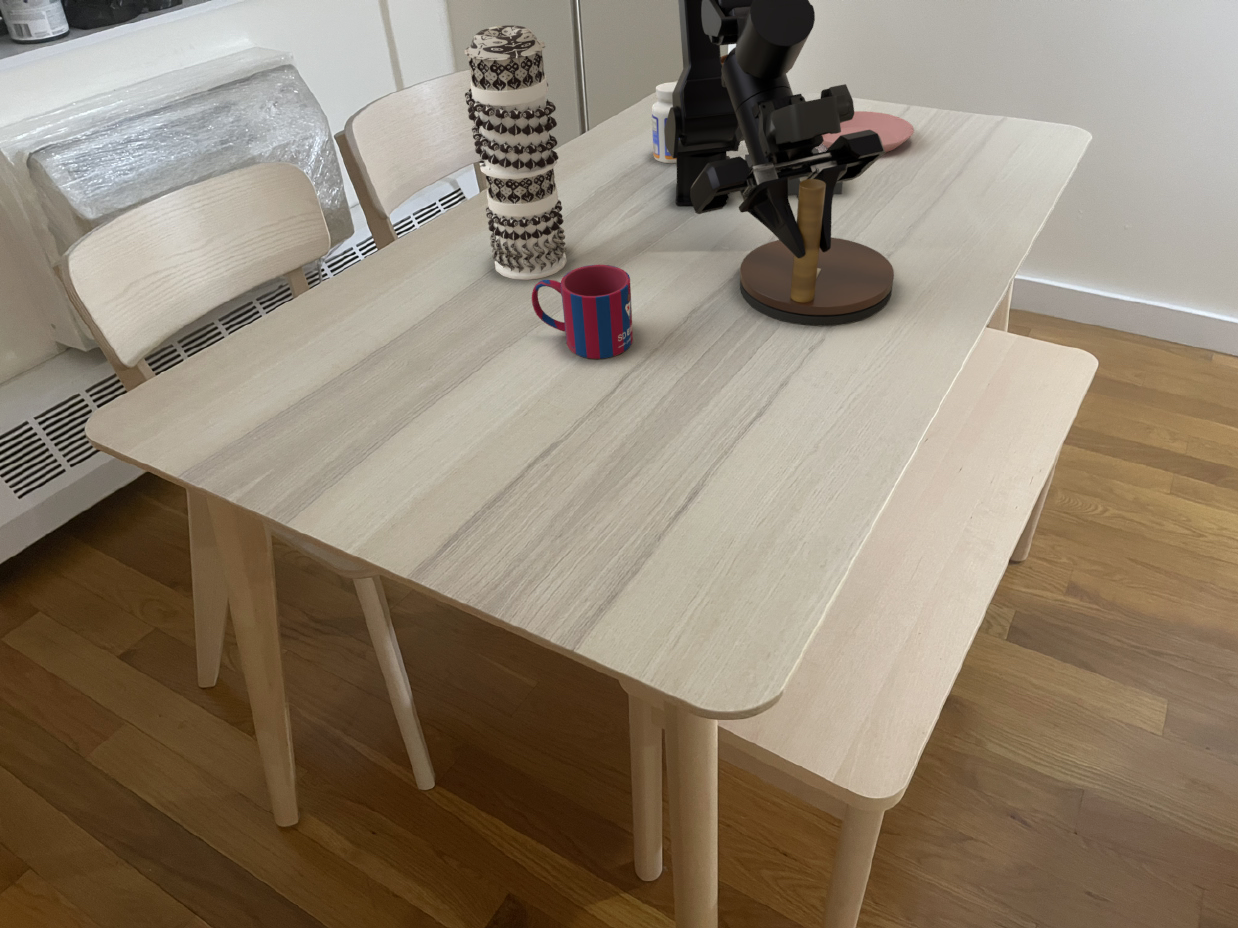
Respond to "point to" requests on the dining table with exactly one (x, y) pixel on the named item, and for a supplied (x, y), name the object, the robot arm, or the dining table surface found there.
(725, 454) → the dining table surface
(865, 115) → the plate
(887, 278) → the turntable
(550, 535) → the dining table surface
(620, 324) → the cup
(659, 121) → the pill bottle
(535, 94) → the decorative candle
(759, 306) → the turntable base
